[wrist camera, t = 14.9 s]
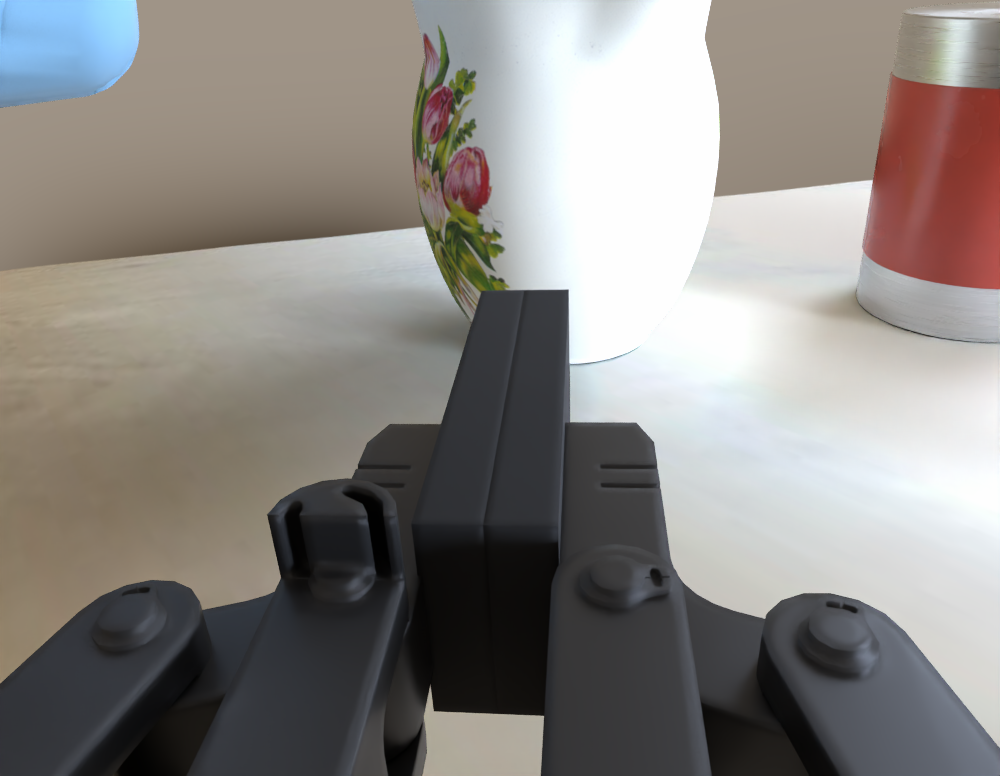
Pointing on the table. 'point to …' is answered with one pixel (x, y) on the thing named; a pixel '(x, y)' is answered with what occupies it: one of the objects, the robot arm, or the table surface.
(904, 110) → the tin can
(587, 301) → the pitcher
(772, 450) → the table surface
